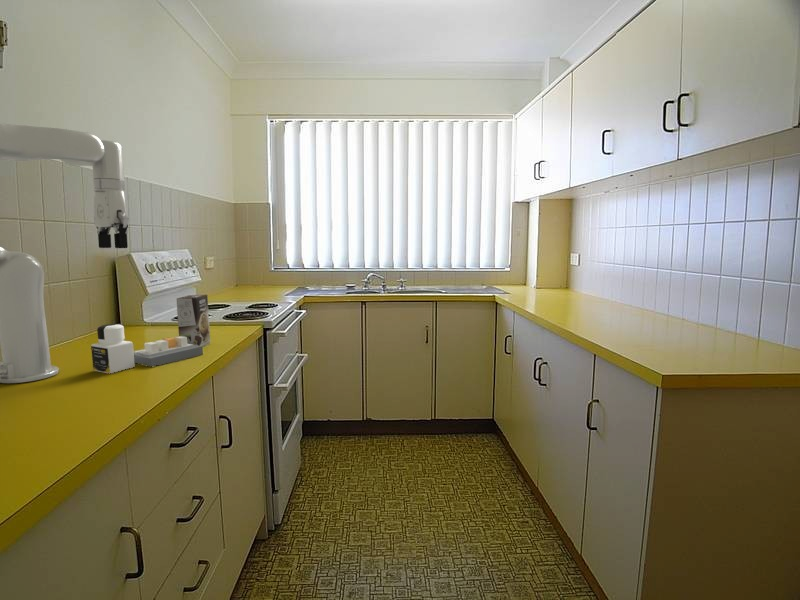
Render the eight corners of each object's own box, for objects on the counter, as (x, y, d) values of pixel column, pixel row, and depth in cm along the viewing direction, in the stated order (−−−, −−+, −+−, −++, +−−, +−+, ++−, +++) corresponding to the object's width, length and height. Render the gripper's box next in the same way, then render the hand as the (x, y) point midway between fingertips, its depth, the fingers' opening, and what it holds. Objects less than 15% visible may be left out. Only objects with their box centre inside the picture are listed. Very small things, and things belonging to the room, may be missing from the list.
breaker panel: (151, 367, 132) (149, 347, 132) (126, 361, 139) (125, 342, 138) (202, 354, 146) (201, 336, 145) (178, 349, 152) (177, 332, 151)
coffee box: (199, 349, 152) (196, 297, 150) (179, 349, 153) (175, 298, 150) (211, 342, 161) (208, 294, 159) (192, 343, 162) (188, 294, 159)
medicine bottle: (92, 371, 130) (88, 326, 128) (119, 364, 136) (115, 321, 134) (109, 374, 126) (105, 328, 125) (135, 367, 132) (131, 323, 131)
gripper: (81, 187, 140) (85, 247, 142) (109, 183, 130) (113, 248, 132) (109, 190, 146) (112, 247, 148) (138, 186, 136) (141, 248, 138)
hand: (113, 248), depth 140 cm, fingers open, 9 cm apart
